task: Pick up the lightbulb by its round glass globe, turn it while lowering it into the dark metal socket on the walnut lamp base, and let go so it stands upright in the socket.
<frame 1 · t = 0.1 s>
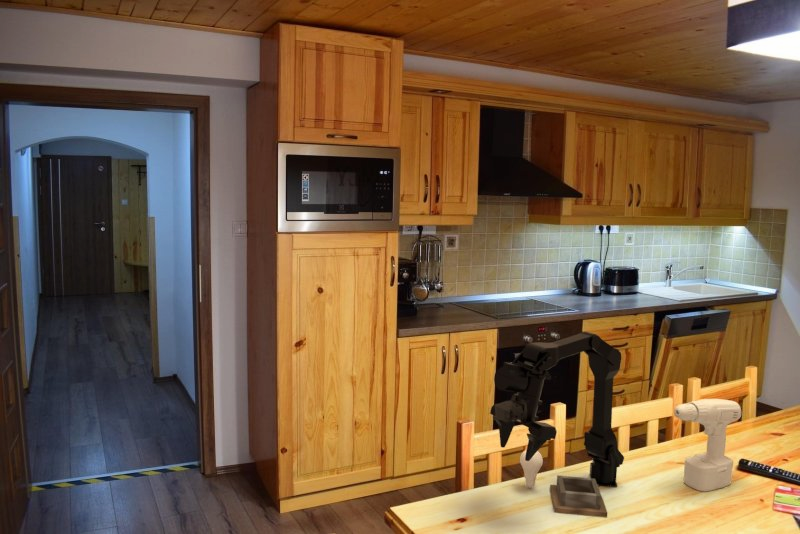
hand: (514, 453, 162), 15 cm above the table, tool pointing down, fingers open, 9 cm apart
lamp socket: (577, 502, 170), on the table
power drill: (700, 485, 182), on the table
lightbulb: (529, 488, 177), on the table
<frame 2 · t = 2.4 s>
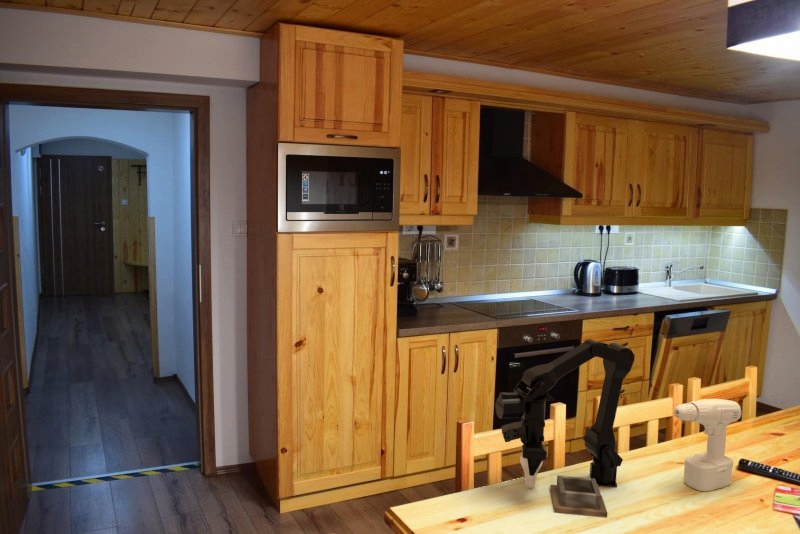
hand: (530, 470, 177), 5 cm above the table, tool pointing down, fingers closed on lightbulb, 6 cm apart
lightbulb: (529, 488, 177), on the table, touching gripper
everything else where it was.
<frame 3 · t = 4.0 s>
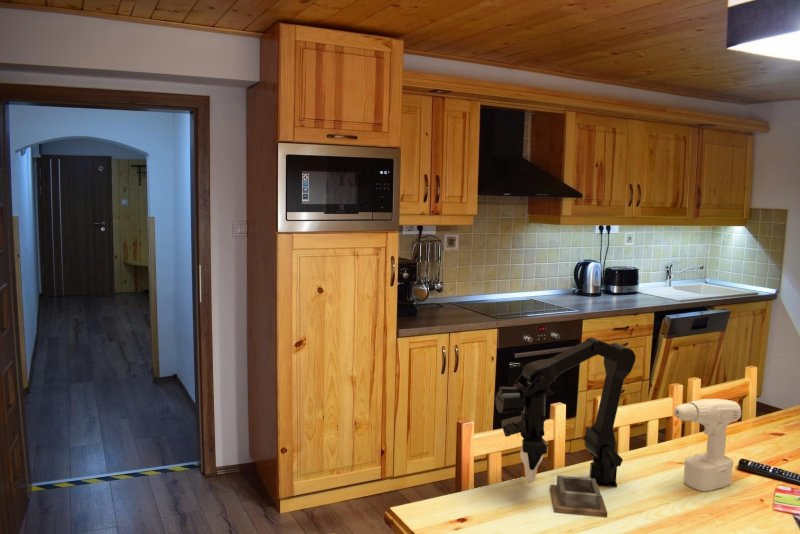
hand: (531, 464, 176), 7 cm above the table, tool pointing down, fingers closed on lightbulb, 6 cm apart
lightbulb: (530, 482, 177), point 1 cm above the table, touching gripper
everything else where it was.
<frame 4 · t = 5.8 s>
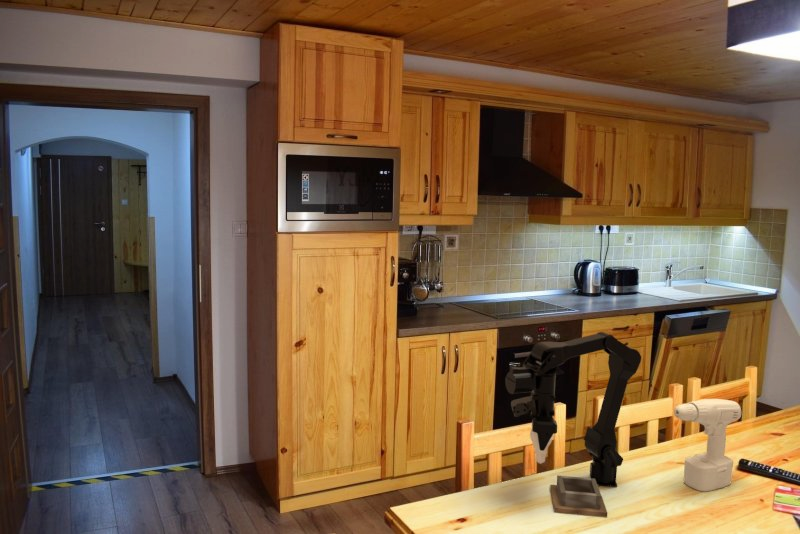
hand: (541, 445, 174), 13 cm above the table, tool pointing down, fingers closed on lightbulb, 6 cm apart
lightbulb: (540, 463, 175), point 8 cm above the table, touching gripper
everything else where it was.
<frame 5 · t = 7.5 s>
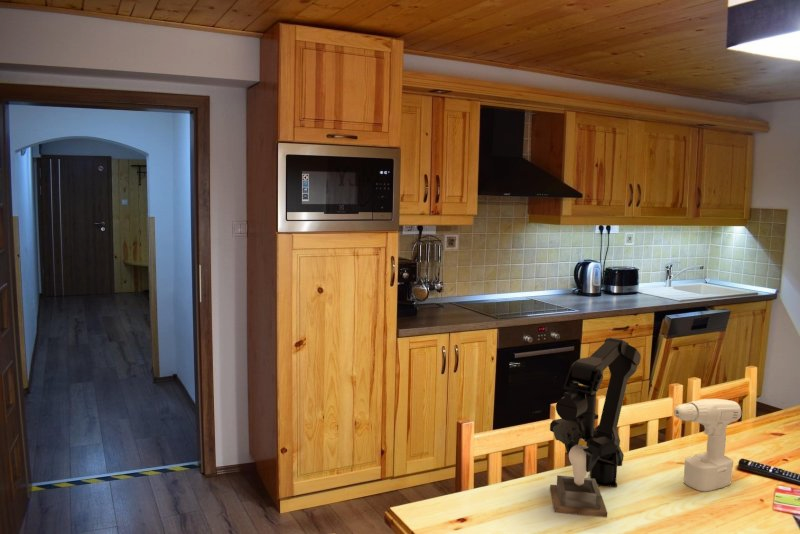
hand: (579, 467, 169), 10 cm above the table, tool pointing down, fingers closed on lightbulb, 6 cm apart
lightbulb: (578, 485, 169), point 5 cm above the table, touching gripper
everything else where it was.
when the fingers open (8 cm above the table, at t = 8.8 s): lightbulb drops 1 cm, resting on lamp socket.
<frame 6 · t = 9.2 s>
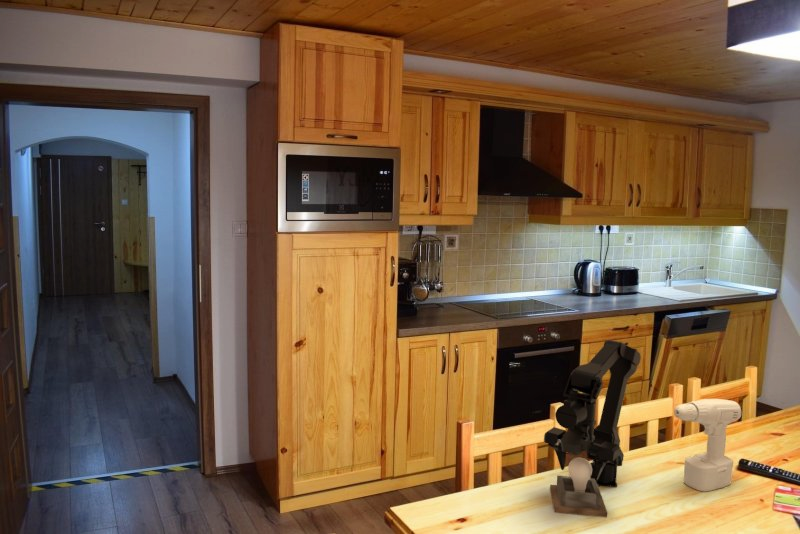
hand: (579, 474, 169), 8 cm above the table, tool pointing down, fingers open, 9 cm apart
lightbulb: (579, 498, 170), point 1 cm above the table, touching lamp socket
everything else where it was.
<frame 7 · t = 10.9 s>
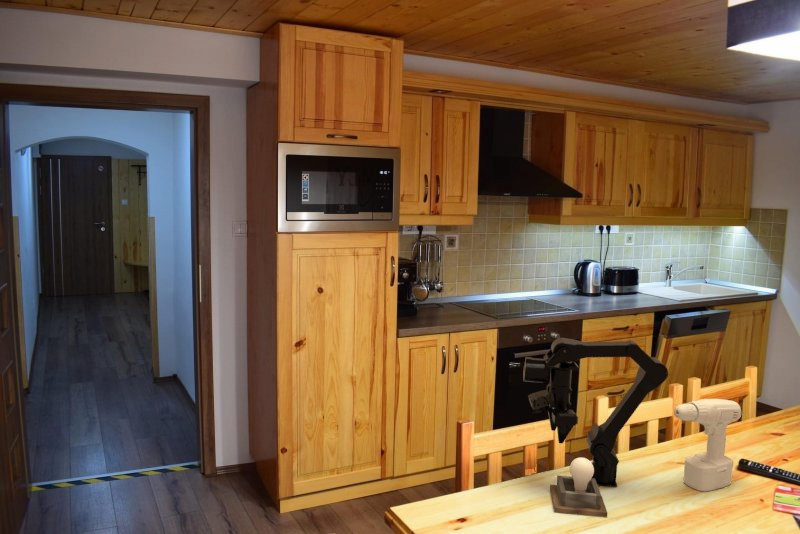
hand: (556, 436, 183), 12 cm above the table, tool pointing down, fingers open, 9 cm apart
nothing on the table moved.
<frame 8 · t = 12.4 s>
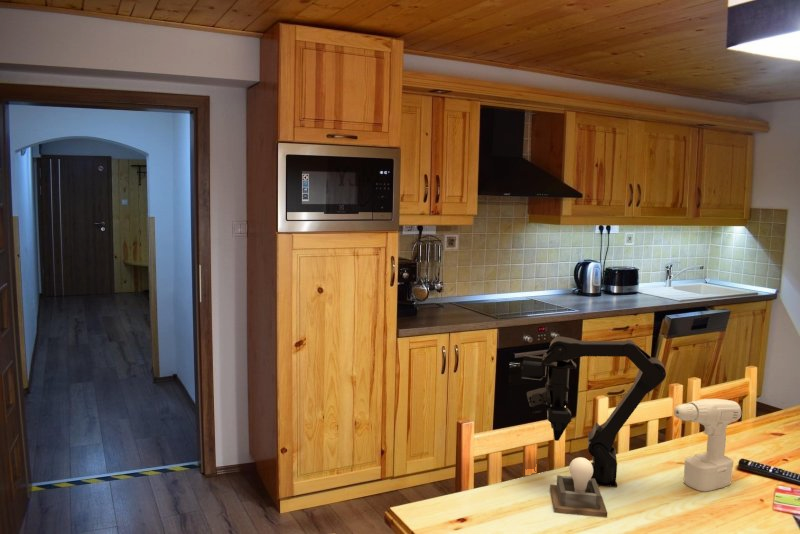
hand: (554, 434, 185), 12 cm above the table, tool pointing down, fingers open, 9 cm apart
nothing on the table moved.
at the end: lightbulb 0.5 cm off-centre on the lamp socket, point 1.0 cm above the lamp socket's base; lightbulb tilted 1°; the gripper is holding nothing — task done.
